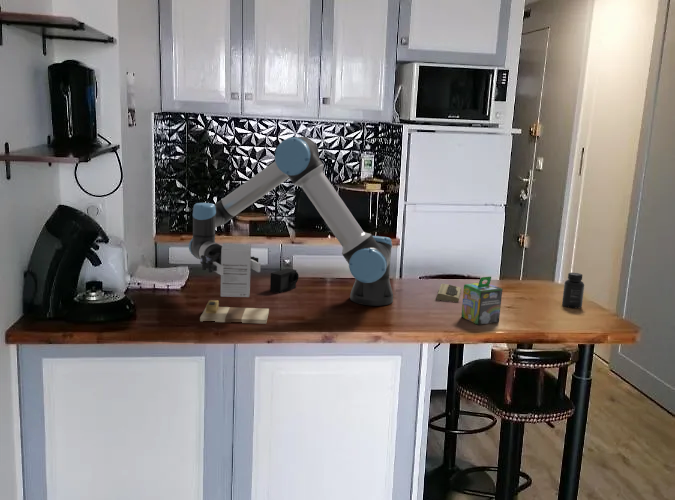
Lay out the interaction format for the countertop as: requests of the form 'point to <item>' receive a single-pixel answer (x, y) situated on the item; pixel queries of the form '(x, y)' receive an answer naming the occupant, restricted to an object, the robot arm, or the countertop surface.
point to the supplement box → (235, 270)
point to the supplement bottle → (573, 291)
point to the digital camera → (283, 280)
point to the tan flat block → (448, 293)
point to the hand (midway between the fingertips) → (241, 269)
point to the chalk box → (481, 302)
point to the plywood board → (233, 314)
